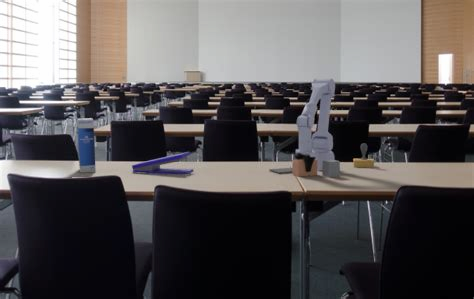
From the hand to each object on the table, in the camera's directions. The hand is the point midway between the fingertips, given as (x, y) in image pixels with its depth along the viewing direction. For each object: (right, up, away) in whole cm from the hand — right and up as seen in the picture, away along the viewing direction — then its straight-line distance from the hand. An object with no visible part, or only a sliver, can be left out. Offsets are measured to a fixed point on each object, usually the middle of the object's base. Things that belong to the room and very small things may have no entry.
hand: (304, 170), depth 245 cm
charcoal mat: (-8, -1, +10) cm, 13 cm away
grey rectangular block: (+11, -2, -4) cm, 12 cm away
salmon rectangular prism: (0, -2, 0) cm, 2 cm away
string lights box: (-106, -1, +18) cm, 107 cm away
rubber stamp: (+33, +1, +23) cm, 40 cm away
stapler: (-68, -2, +13) cm, 69 cm away
